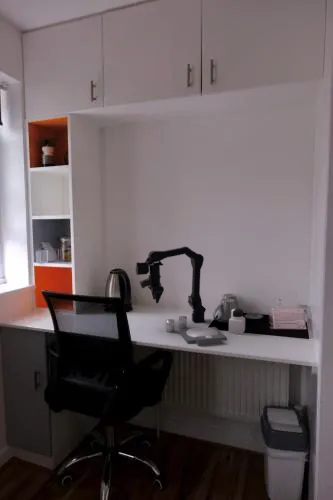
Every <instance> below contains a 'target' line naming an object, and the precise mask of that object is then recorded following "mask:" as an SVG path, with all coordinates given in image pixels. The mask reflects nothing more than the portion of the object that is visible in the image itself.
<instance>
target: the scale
mask: <svg viewBox="0 0 333 500" xmlns="http://www.w3.org/2000/svg"><path fill="white" fill-rule="evenodd" d="M178 333H179V334H180V336H181V337H182V339H183V340H184V341H185V342H186V343H187V344H196V345H197V346H198V347H203V345H204V346H210V345H211V346H213V345H212V344H214V345H221V344H222V345H223V341H227V340H228V338H227V336H226V335H225V334H224V333H223V332H221V331H220V329H218V328H217V327H216V326H212V327H210V326H209V327H203V326H199V327H197V326H196V327H192V328H186V329H179V330H178Z"/></svg>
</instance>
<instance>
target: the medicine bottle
mask: <svg viewBox="0 0 333 500" xmlns="http://www.w3.org/2000/svg"><path fill="white" fill-rule="evenodd" d="M230 311H231V312H230V315H231V316H230V318H229V320H228V333H230V334H235V335H243V333H244V332H245V330H246V317H244V310H243V309H241V308H233V309H231V310H230Z"/></svg>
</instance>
